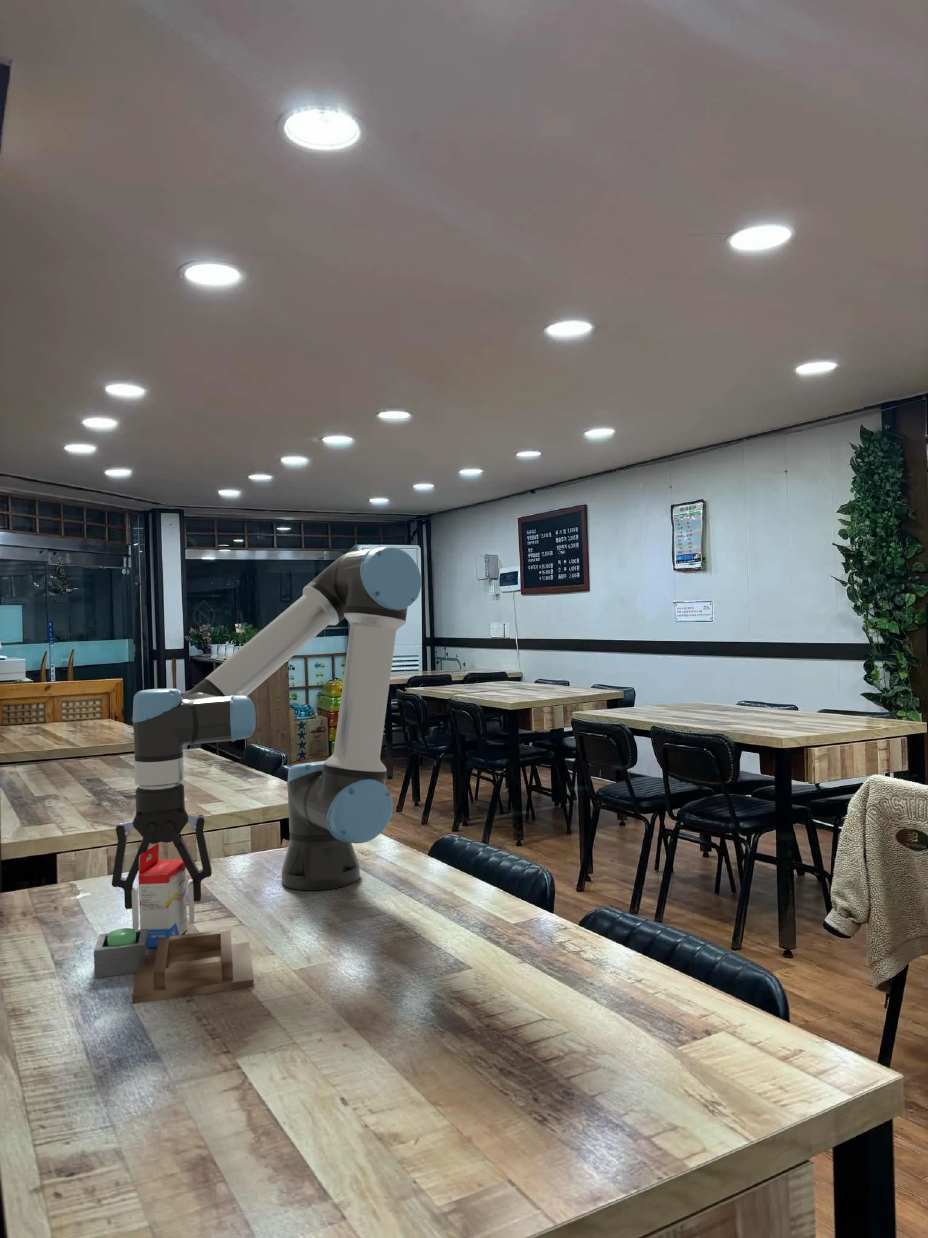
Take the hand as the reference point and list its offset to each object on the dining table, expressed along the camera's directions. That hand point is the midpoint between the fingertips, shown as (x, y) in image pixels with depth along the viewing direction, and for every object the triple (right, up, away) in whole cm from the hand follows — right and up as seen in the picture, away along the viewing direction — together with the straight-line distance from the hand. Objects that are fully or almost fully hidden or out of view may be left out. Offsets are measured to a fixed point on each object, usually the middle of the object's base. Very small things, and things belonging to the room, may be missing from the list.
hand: (164, 924), depth 144 cm
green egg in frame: (-2, -2, -11) cm, 12 cm away
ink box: (0, -3, 0) cm, 3 cm away
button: (-3, 0, -11) cm, 11 cm away
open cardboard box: (+10, -2, -15) cm, 18 cm away
